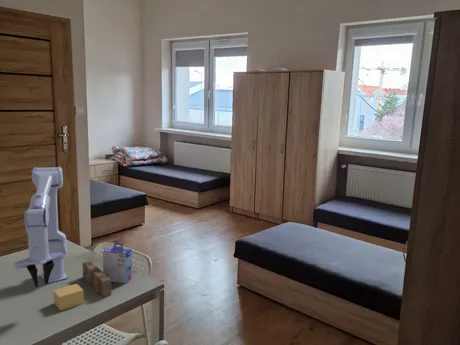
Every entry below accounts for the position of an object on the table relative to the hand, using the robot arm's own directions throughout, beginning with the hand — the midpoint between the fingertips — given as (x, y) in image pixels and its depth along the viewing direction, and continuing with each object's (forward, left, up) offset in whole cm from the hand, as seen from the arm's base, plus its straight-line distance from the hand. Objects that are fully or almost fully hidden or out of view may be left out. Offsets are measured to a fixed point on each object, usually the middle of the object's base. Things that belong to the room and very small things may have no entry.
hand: (41, 284), depth 132 cm
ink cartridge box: (-7, +30, -10) cm, 32 cm away
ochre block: (0, +9, -10) cm, 13 cm away
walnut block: (-7, +21, -9) cm, 24 cm away
